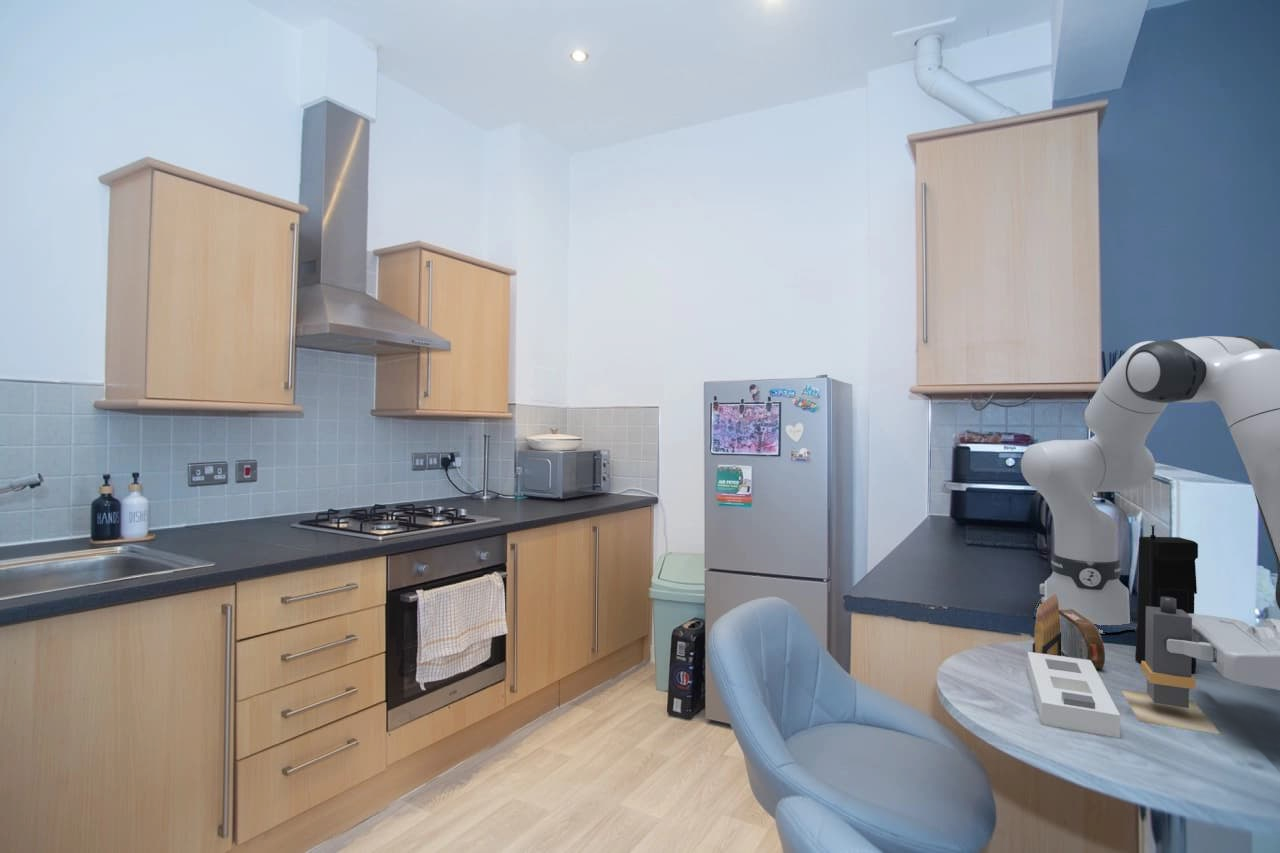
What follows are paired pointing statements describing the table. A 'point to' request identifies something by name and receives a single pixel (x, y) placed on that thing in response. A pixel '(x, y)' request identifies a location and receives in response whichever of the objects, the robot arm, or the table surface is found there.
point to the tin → (1081, 638)
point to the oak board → (1168, 713)
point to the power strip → (1076, 686)
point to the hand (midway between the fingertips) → (1160, 638)
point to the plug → (1167, 655)
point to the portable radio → (1164, 579)
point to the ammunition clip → (1048, 628)
